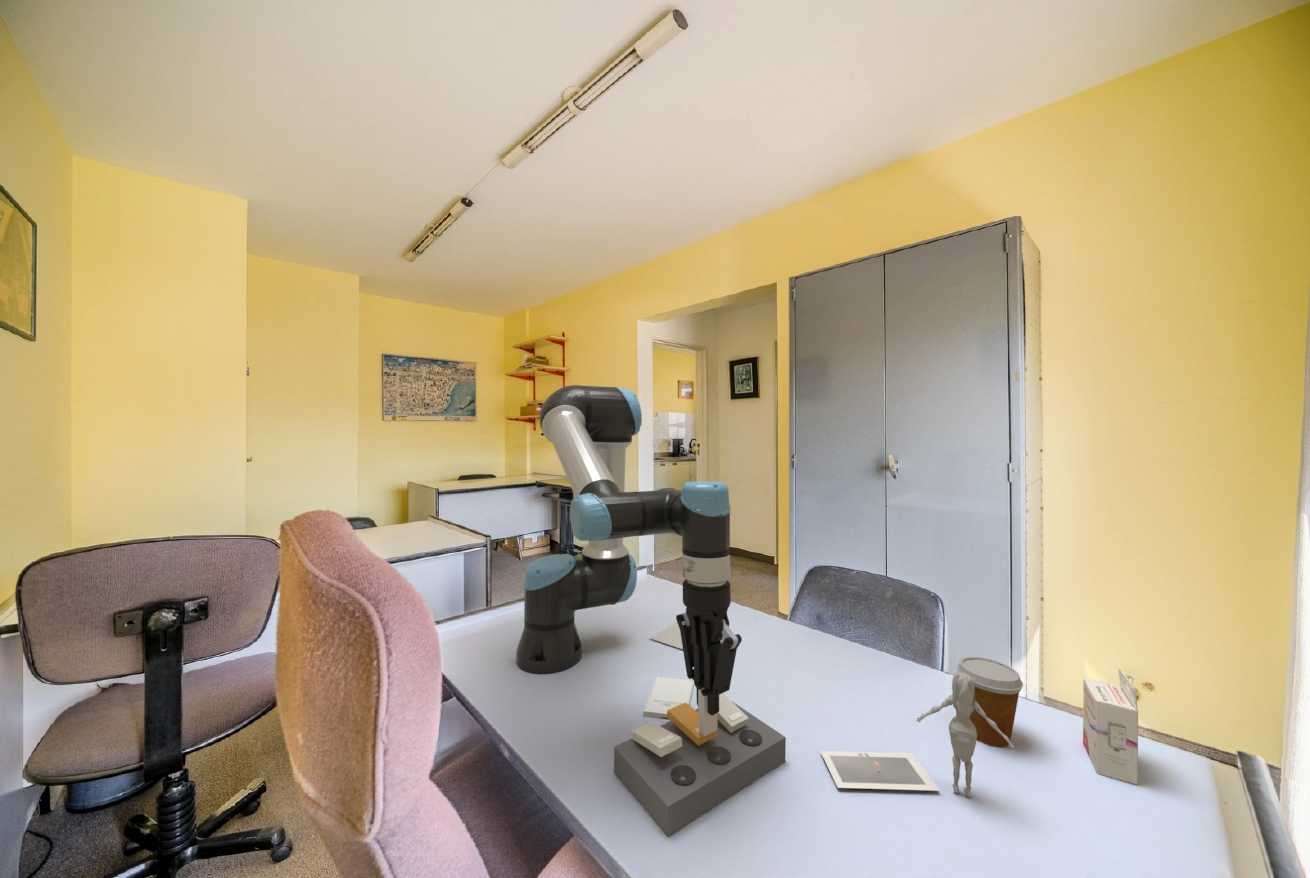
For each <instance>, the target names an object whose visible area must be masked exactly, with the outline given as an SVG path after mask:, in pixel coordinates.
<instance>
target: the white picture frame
mask: <svg viewBox="0 0 1310 878" xmlns="http://www.w3.org/2000/svg"><path fill="white" fill-rule="evenodd" d="M820 754H821V755H822V757H823V760H824V762H825V764H826V765H827V768H828V770H829V772H830V774H831V777H832V779H833V781H834V784H835V785H836V787H837V788H838V789H863V790H864V789H866V790H867V789H868V790H869V789H870V790H871V789H872V790H899V791H903V790H904V791H930V792H931V791H932V792H940V791H941V790H940V789H939V787H938V785H936V783H935V782H934V781H933V779H932V778H931V776H930V775H929V774H928V773H927V771H926V770H925V769H924V768H923V766H922V765H921V764H920V762H919V761H918V760H917V759H916V757H915V756H914V755H913V753H912V752H911V753H910V752H909V753H905V752H878V751H877V752H874V751H871V752H870V751H869V752H868V751H867V752H865V751H839V750H838V751H833V750H820Z"/></svg>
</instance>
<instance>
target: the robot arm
mask: <svg viewBox="0 0 1310 878" xmlns="http://www.w3.org/2000/svg"><path fill="white" fill-rule="evenodd" d="M539 412H540V413H539V419H538V420H539V427H540V428H541V431H542V434H543V436H544V438H545V439H547V441H549V442H550V443H552V445H553V448H554V450H555V452H556V455H557V457H558V459H559V462H560V465H561V467H562V468H563V471H564V474H565V476H566V478H567V481H568V483H569V485H570V487H571V489H572V490H571V491H572V493H573V495H574V498H572V500H571V503H570V506H569V522H570V526H571V527H570V528H571V532H572V534H573V536H574V538H575V539H577V540H578V541H582V542H584V541H585V542H588V543H587V544H586V546H584V547H583V548H582V549H581V559H576V558H575V556H573V555H572V554H569V553H561V554H560V553H557V554H550V555H545V556H542V557H540V558H537V559H535V560H533V561H532V562H530V563H529V564H528V565H527V566H526V569H525V571H524V580H523V581H524V582H523V589H524V597H523V599H524V600H523V601H524V603H523V604H524V605H523V606H524V609H523V610H524V611H523V613H524V615H523V616H524V618H523V619H524V621H523V622H524V623H523V624H524V625H523V626H524V627H523V630H522V633H521V637H520V640H519V642H518V645H517V648H516V653H515V654H516V658H515V660H516V665H517V666H518V668H520V669H522V670H523V671H525V672H527V673H528V672H529V673H535V674H551V673H557V672H560V671H565V670H566V669H569V668H571V667H574V665H576V664H578V662H580V660H581V658H582V655H583V654H582V653H583V650H582V642H581V638H580V636H579V632H578V630H577V629H578V628H577V626H576V623H575V616H576V615H575V612H576V611H579V610H584V609H585V610H586V609H591V608H597V607H603V606H608V605H610V606H614V605H617V604H618V603H623V602H626V601H628V600H629V599H630V598H631V597H632V596H633V594H634V593H635V589H636V586H637V580H638V570H637V567H636V566H637V565H636V560H635V559H634V557H633V556H632V555H631V554H629V549H628V548H627V547H626V546H625V545H624V538H632V537H645V536H653V535H662V534H675V535H678V536H680V537H682V538H681V543H682V544H681V547H682V551H681V552H682V578H683V579H684V580H683V582H682V603H683V605H684V606H685V607H686V608H685V612H684V613H680V614H677V615H675V621H676V622H677V623H678V626H679V628H680V633H681V639H682V646H683V649H682V651H683V658H684V664H685V671H686V676H687V678H688V680H692V681H693V682H694V686H695V688H696V706H697V707H698V708H697V709H698V714H699V732H700V733H701V734H702V735H704V736H706V735H708V734H710V733H712V732H714V731H716V730H717V713H718V712H719V695H720V694H722V693H724V694H725V693H726V692H729V691H730V689H731V683H732V678H733V672H734V666H735V660H736V655H737V650H738V648H739V646H740V645H741V643H742V636H741V635H740V634H739V633H737V634H734V631H732V630H731V627H730V621H729V617H728V609H729V607H730V606H731V602H732V601H731V599H732V598H731V596H732V595H731V592H732V591H731V582H730V581H729V580H730V579H731V509H732V508H731V505H730V494H729V487H728V486H727V484H725V483H724V482H722V481H712V480H710V481H708V480H707V481H706V480H704V481H703V480H698V481H687V482H684V484H683V485H682V487H681V490H680V489H676V488H674V487H665V488H664V487H659V488H656V489H655V490H645V491H644V490H643V491H625V480H626V477H625V476H626V451H627V449H628V447H629V446H631V444H632V443H633V442H632V441H633V436H636V435H638V434H639V432H640V431H641V427H642V421H643V418H642V417H643V414H642V408H641V404H640V401H639V399H638V397H637V395H636V394H635V392H633V391H632V390H631V389H629V388H624V387H623V388H622V387H616V386H597V385H594V386H593V385H579V384H571V385H566V386H563V387H560V388H559V389H557V390H555V391H554V392H552V393H550V395H549V396H548V397H547V398H546V399H545V401H544V402H543V404H542V407H541V408H540V411H539Z"/></svg>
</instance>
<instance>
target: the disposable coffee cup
mask: <svg viewBox="0 0 1310 878" xmlns="http://www.w3.org/2000/svg"><path fill="white" fill-rule="evenodd" d="M956 671H957V673H958V672H962V673H966V674H967V675H969V676H970V677H971V678H973V679H974V696H975V701H976V702H977V703H978V704H979V705H980V707H981V709H982V710H983V711H984V713H985V714H986V717H987V718H989V719H990V720H992V721H994V722H995V723H996V725H997V727H998V729H999V730H1000V731H1001V732H1002V733H1003V734H1004V735H1006V736H1007V737H1008V738H1009V741H1010V742H1011V741H1012V735H1013V734H1012V733H1013V730H1014V729H1013V728H1014V723H1015V717H1016V713H1017V706H1018V701H1019V696H1020V692H1021V690H1022V689H1023V687H1024V682H1023V681H1022V680H1021V677H1020V673H1019V672H1017V670H1016V669H1014V668H1013V667H1011V666H1010V665H1007V664H1005V663H1002V662H1000V661H997V660H995V659H994V660H993V659H990V658H988V657H987V658H986V657H981V656H965V657H962V658H960V660H959V663H958V664H957V665H956ZM969 719H970V720H971V722H972V723H973V724H974V726H975V728H976V731H977V734H978V737H977V740H976V741H979V742H980V743H983V744H986V745H988V746H993V747H997V748H1005V747H1008V746H1010V745H1009V743H1008V742H1007V741H1006V740H1005V738H1004V737H1003V736H1002V735H1001V734H999V733H998V732H997V731H996V730H995V729H994V728H993V727H991V726H990V725H989V723H988V722H987V720H986V719H985V718H984V717H982V716H981V715H980V714H979V713H978V712H977V711H976V710H975V709H974V710H973V712H972V713H971V715H970V716H969Z"/></svg>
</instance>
